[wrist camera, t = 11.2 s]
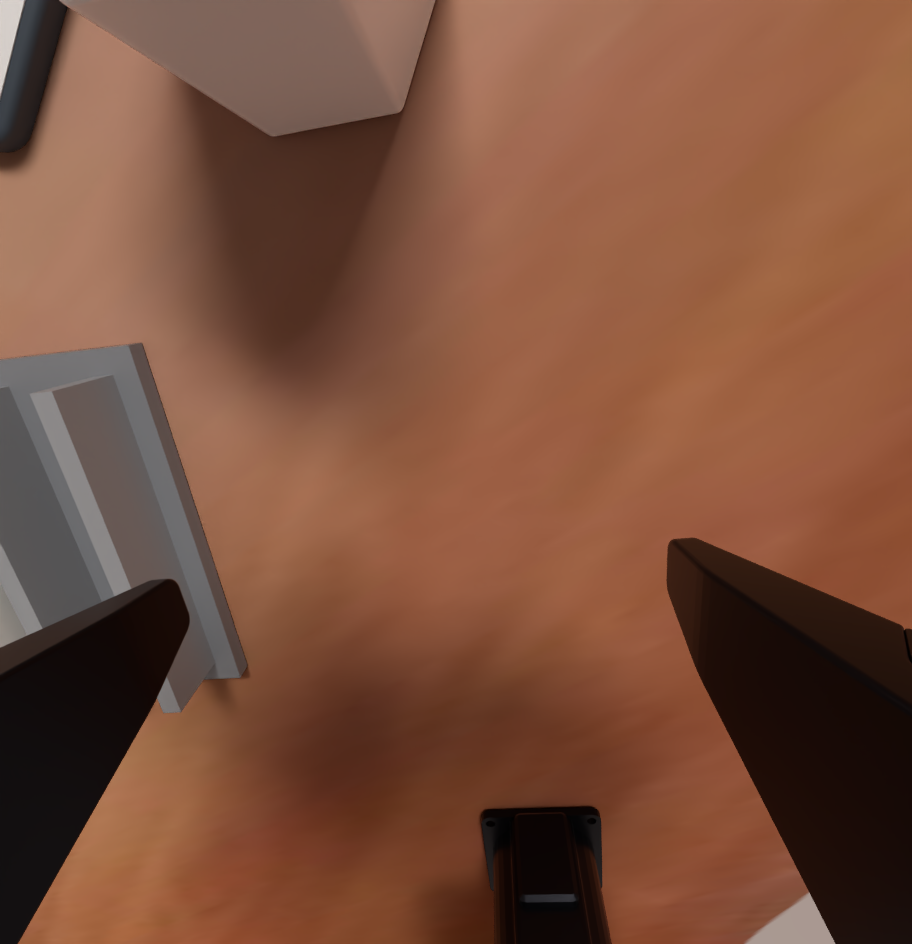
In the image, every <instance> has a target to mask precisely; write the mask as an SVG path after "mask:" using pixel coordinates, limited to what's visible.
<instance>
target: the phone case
mask: <svg viewBox="0 0 912 944" xmlns="http://www.w3.org/2000/svg"><path fill="white" fill-rule="evenodd" d="M66 10H67V6H65V5H64V4H63V3H61V2H60V1H59V0H0V152H14V151H16V150H18V149H20V148H22V147H23V146H24V145H25V144H26V143H27V141H28V140H29V138H30V136H31V134H32V131H33V127H34V123H35V120H36V116H37V113H38V109H39V106H40V102H41V99H42V95H43V91H44V88H45V84H46V81H47V77H48V74H49V70H50V67H51V63H52V59H53V56H54V52H55V49H56V45H57V42H58V38H59V35H60V31H61V27H62V24H63V20H64V17H65V13H66Z"/></svg>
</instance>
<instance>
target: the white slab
mask: <svg viewBox="0 0 912 944" xmlns="http://www.w3.org/2000/svg"><path fill="white" fill-rule="evenodd" d="M25 636H27V634H26V632H25V630H24V628H23V626H22V624H21V622H20V620H19V618H18V616H17V614H16V612H15V610H14V609H13V607H12V605H11V603H10V601H9V599H8V597H7V595H6V593H5V591H4V589H3V587H2V585H1V583H0V647H3V646H5V645H7V644H9V643H11V642H14V641H16V640H18V639H20V638H23V637H25Z"/></svg>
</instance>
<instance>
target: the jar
mask: <svg viewBox="0 0 912 944" xmlns="http://www.w3.org/2000/svg"><path fill="white" fill-rule="evenodd" d="M59 1H60V2H61V3H63V4H64V5H65V6H67V7H69V8H70V9H72V10H73V11H75V12H76V13H78V14H80V15H81V16H83V17H84V18H86V19H87V20H89V21H91V22H92V23H94V24H95V25H97V26H98V27H100V28H102V29H103V30H105V31H106V32H108V33H109V34H111V35H113V36H114V37H116V38H117V39H119V40H120V41H122V42H123V43H125V44H127V45H128V46H130V47H131V48H133V49H134V50H136V51H138V52H139V53H141V54H142V55H144V56H145V57H147V58H149V59H150V60H152V61H153V62H155V63H156V64H158V65H159V66H161V67H163V68H164V69H166V70H167V71H169V72H170V73H172V74H174V75H175V76H177V77H178V78H180V79H181V80H183V81H184V82H186V83H188V84H189V85H191V86H192V87H194V88H195V89H197V90H199V91H200V92H202V93H203V94H205V95H206V96H208V97H209V98H211V99H213V100H214V101H216V102H217V103H219V104H220V105H222V106H224V107H225V108H227V109H228V110H230V111H231V112H233V113H235V114H236V115H238V116H239V117H241V118H242V119H244V120H245V121H247V122H249V123H250V124H252V125H253V126H255V127H256V128H258V129H260V130H261V131H263V132H264V133H266V134H267V135H269V136H274V137H275V136H280V135H285V134H291V133H296V132H301V131H306V130H312V129H317V128H322V127H327V126H333V125H338V124H343V123H348V122H354V121H359V120H364V119H369V118H375V117H380V116H385V115H391V114H396V113H399V112H400V111H401V110H402V109H403V107H404V104H405V101H406V97H407V94H408V90H409V87H410V84H411V80H412V77H413V74H414V70H415V67H416V64H417V60H418V57H419V54H420V50H421V47H422V44H423V40H424V37H425V34H426V30H427V27H428V24H429V20H430V17H431V14H432V10H433V7H434V3H435V0H59Z"/></svg>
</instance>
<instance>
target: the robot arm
mask: <svg viewBox="0 0 912 944" xmlns="http://www.w3.org/2000/svg"><path fill="white" fill-rule="evenodd" d="M667 589H668V593H669V597H670V599H671V602H672V605H673V607H674V610H675V613H676V616H677V618H678V621H679V624H680V627H681V629H682V632H683V635H684V637H685V640H686V643H687V646H688V648H689V651H690V654H691V656H692V659H693V662H694V664H695V667H696V669H697V672H698V674H699V676H700V678H701V680H702V682H703V684H704V686H705V688H706V690H707V692H708V694H709V696H710V698H711V700H712V702H713V704H714V706H715V708H716V710H717V712H718V714H719V716H720V718H721V720H722V722H723V724H724V726H725V728H726V730H727V732H728V733H729V735H730V737H731V739H732V741H733V743H734V745H735V747H736V749H737V751H738V753H739V755H740V757H741V759H742V761H743V763H744V765H745V767H746V769H747V771H748V773H749V775H750V777H751V779H752V781H753V783H754V785H755V786H756V788H757V790H758V792H759V794H760V796H761V798H762V800H763V802H764V804H765V806H766V808H767V810H768V812H769V814H770V816H771V818H772V820H773V822H774V824H775V826H776V828H777V830H778V832H779V834H780V836H781V838H782V840H783V841H784V843H785V845H786V847H787V849H788V851H789V853H790V855H791V857H792V859H793V861H794V863H795V865H796V867H797V869H798V871H799V873H800V875H801V877H802V879H803V881H804V883H805V885H806V887H807V889H808V891H809V893H810V894H811V896H812V898H813V900H814V902H815V904H816V906H817V908H818V910H819V912H820V914H821V916H822V918H823V920H824V922H825V924H826V926H827V928H828V930H829V932H830V934H831V936H832V938H833V940H834V942H835V944H912V629H905V630H904V628H903V626H902V625H900V624H897V623H895V622H892V621H890V620H888V619H885V618H883V617H881V616H878V615H876V614H874V613H871V612H869V611H866V610H864V609H862V608H859V607H857V606H855V605H852V604H850V603H848V602H845V601H843V600H841V599H838V598H836V597H833V596H831V595H829V594H826V593H824V592H822V591H819V590H817V589H815V588H812V587H810V586H807V585H805V584H803V583H800V582H798V581H796V580H793V579H791V578H789V577H786V576H784V575H782V574H779V573H777V572H774V571H772V570H770V569H767V568H765V567H763V566H760V565H758V564H756V563H753V562H751V561H749V560H746V559H744V558H741V557H739V556H737V555H734V554H732V553H730V552H727V551H725V550H723V549H720V548H718V547H716V546H713V545H711V544H708V543H706V542H704V541H701V540H699V539H697V538H682V539H673V540H671V541H670V542H669V545H668V555H667ZM189 625H190V615H189V612H188V609H187V606H186V604H185V601H184V598H183V595H182V593H181V590H180V587H179V585H178V583H177V582H176V581H175V580H173V579H156V580H150V581H147V582H145V583H143V584H141V585H138V586H136V587H134V588H132V589H129V590H127V591H125V592H123V593H121V594H118V595H116V596H114V597H112V598H109V599H107V600H105V601H103V602H101V603H98V604H96V605H94V606H92V607H89V608H87V609H85V610H83V611H80V612H78V613H76V614H74V615H72V616H69V617H67V618H65V619H63V620H60V621H58V622H56V623H54V624H52V625H49V626H47V627H45V628H43V629H40V630H38V631H36V632H34V633H32V634H29V635H27V636H25V637H23V638H20V639H18V640H16V641H14V642H11V643H9V644H7V645H5V646H3V647H0V944H18V942H19V941H20V939H21V937H22V935H23V934H24V932H25V930H26V928H27V927H28V925H29V923H30V921H31V920H32V918H33V916H34V914H35V913H36V911H37V909H38V907H39V906H40V904H41V902H42V900H43V899H44V897H45V895H46V893H47V892H48V890H49V888H50V886H51V885H52V883H53V881H54V879H55V877H56V876H57V874H58V872H59V870H60V869H61V867H62V865H63V863H64V862H65V860H66V858H67V856H68V855H69V853H70V851H71V849H72V848H73V846H74V844H75V842H76V841H77V839H78V837H79V835H80V834H81V832H82V830H83V828H84V827H85V825H86V823H87V821H88V819H89V818H90V816H91V814H92V812H93V811H94V809H95V807H96V805H97V804H98V802H99V800H100V798H101V797H102V795H103V793H104V791H105V790H106V788H107V786H108V784H109V783H110V781H111V779H112V777H113V776H114V774H115V772H116V770H117V769H118V767H119V765H120V763H121V761H122V760H123V758H124V756H125V754H126V753H127V751H128V749H129V747H130V746H131V744H132V742H133V740H134V739H135V737H136V735H137V733H138V732H139V730H140V728H141V726H142V725H143V723H144V721H145V719H146V718H147V716H148V714H149V712H150V710H151V708H152V707H153V705H154V703H155V701H156V699H157V697H158V695H159V693H160V691H161V688H162V686H163V684H164V682H165V680H166V677H167V675H168V673H169V671H170V669H171V666H172V664H173V662H174V660H175V657H176V655H177V653H178V651H179V649H180V646H181V644H182V642H183V640H184V638H185V635H186V633H187V631H188V628H189ZM482 831H483V838H484V845H485V852H486V860H487V867H488V874H489V881H490V888H491V890H493V891H494V944H612V943H611V938H610V933H609V927H608V922H607V917H606V912H605V906H604V901H603V896H602V891H601V888H602V843H601V818H600V814H599V811H598V810H597V809H595V808H559V809H525V810H491V811H486V812H484V813H483V814H482Z"/></svg>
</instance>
